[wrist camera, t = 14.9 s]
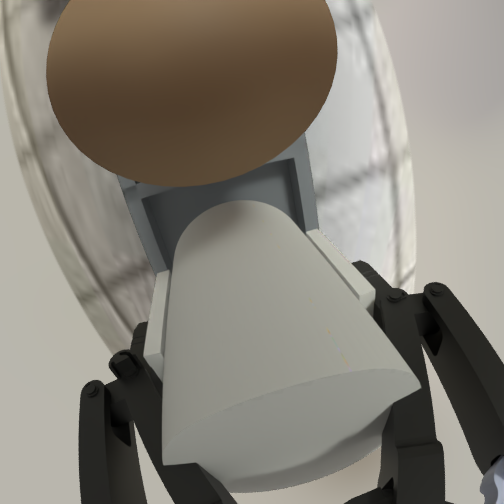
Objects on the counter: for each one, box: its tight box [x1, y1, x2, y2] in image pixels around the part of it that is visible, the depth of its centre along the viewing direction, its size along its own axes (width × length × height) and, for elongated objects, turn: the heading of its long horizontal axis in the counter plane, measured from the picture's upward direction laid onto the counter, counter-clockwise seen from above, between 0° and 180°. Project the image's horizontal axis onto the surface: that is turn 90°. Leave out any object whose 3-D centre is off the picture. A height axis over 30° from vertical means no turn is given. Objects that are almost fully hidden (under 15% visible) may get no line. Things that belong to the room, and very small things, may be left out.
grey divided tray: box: [117, 132, 319, 277], centre depth 18 cm, size 23×12×3 cm, turn 12°
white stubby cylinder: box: [162, 200, 421, 493], centre depth 12 cm, size 8×8×12 cm
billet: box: [46, 0, 337, 187], centre depth 11 cm, size 8×8×12 cm
